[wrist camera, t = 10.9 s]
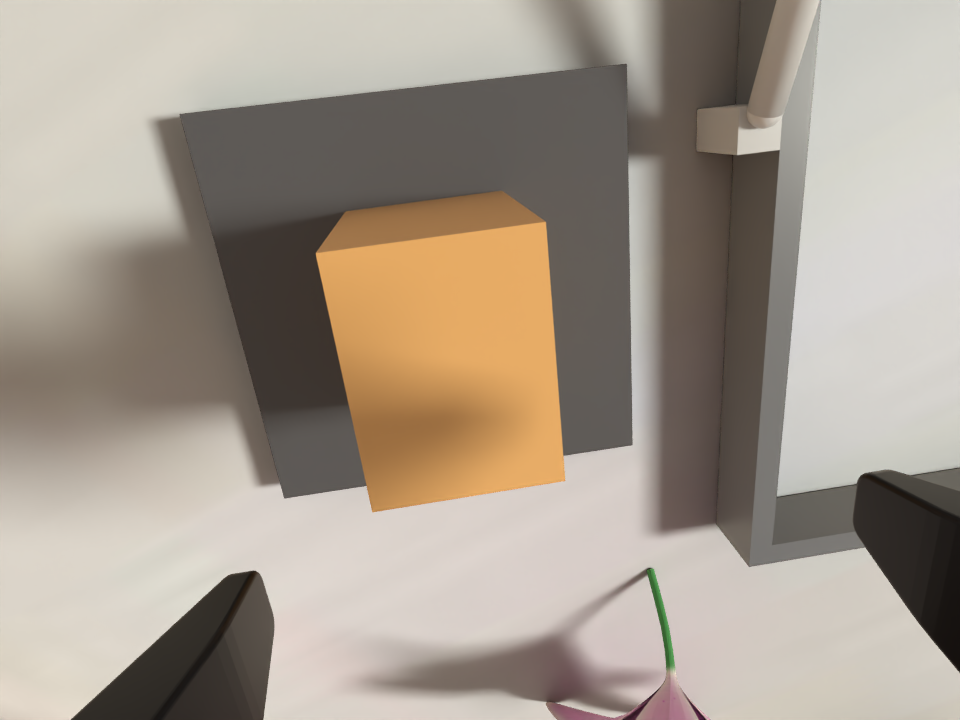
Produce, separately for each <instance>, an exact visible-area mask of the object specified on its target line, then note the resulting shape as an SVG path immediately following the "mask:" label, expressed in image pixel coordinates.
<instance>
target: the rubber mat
mask: <svg viewBox="0 0 960 720" xmlns="http://www.w3.org/2000/svg"><path fill="white" fill-rule="evenodd" d="M180 117H181V121H182V124H183V128H184V132H185V135H186V139H187V143H188V146H189V150H190V154H191V158H192V161H193V165H194V169H195V172H196V176H197V180H198V183H199V187H200V191H201V194H202V198H203V202H204V205H205V209H206V213H207V216H208V220H209V224H210V227H211V231H212V235H213V238H214V242H215V246H216V249H217V253H218V257H219V260H220V264H221V268H222V271H223V275H224V279H225V282H226V286H227V290H228V293H229V297H230V301H231V304H232V308H233V312H234V315H235V319H236V323H237V326H238V330H239V334H240V337H241V341H242V345H243V349H244V352H245V356H246V360H247V363H248V367H249V371H250V374H251V378H252V382H253V385H254V389H255V393H256V396H257V400H258V404H259V407H260V411H261V415H262V418H263V422H264V426H265V429H266V433H267V437H268V440H269V444H270V448H271V451H272V455H273V459H274V462H275V466H276V470H277V473H278V477H279V481H280V484H281V488H282V492H283V495H284V498H290V497H297V496H303V495H310V494H316V493H323V492H330V491H336V490H343V489H349V488H356V487H362V486H367V485H366V481H365V476H364V472H363V467H362V463H361V458H360V453H359V449H358V444H357V440H356V435H355V431H354V426H353V422H352V417H351V412H350V408H349V403H348V399H347V394H346V390H345V385H344V381H343V376H342V371H341V367H340V362H339V358H338V353H337V349H336V344H335V340H334V335H333V330H332V326H331V321H330V317H329V312H328V308H327V303H326V299H325V294H324V289H323V285H322V280H321V276H320V271H319V267H318V262H317V258H316V252H317V251H318V249H319V248H320V246H321V245H322V244H323V242H324V241H325V239H326V238H327V237H328V235H329V234H330V232H331V231H332V230H333V228H334V227H335V226H336V224H337V223H338V221H339V220H340V219H341V217H342V216H343V214H344V213H345V212H346V211H353V210H360V209H368V208H375V207H383V206H390V205H398V204H405V203H413V202H420V201H428V200H435V199H443V198H450V197H458V196H465V195H473V194H481V193H488V192H496V191H503V192H505V193H506V194H507V195H509V196H510V197H512V198H513V199H515V200H516V201H517V202H519V203H520V204H522V205H523V206H524V207H526V208H527V209H529V210H530V211H531V212H533V213H534V214H536V215H537V216H539V217H540V218H541V219H543V220H544V221H546V229H547V243H548V256H549V270H550V283H551V297H552V310H553V324H554V337H555V351H556V364H557V378H558V391H559V405H560V418H561V432H562V445H563V456H564V455H571V454H578V453H584V452H591V451H597V450H604V449H610V448H617V447H623V446H630V445H632V383H631V318H630V253H629V188H628V123H627V64H621V65H612V66H603V67H594V68H585V69H576V70H567V71H558V72H550V73H541V74H532V75H523V76H514V77H505V78H496V79H487V80H479V81H470V82H461V83H452V84H443V85H434V86H425V87H416V88H407V89H399V90H390V91H381V92H372V93H363V94H354V95H345V96H336V97H328V98H319V99H310V100H301V101H292V102H283V103H274V104H265V105H256V106H248V107H239V108H230V109H221V110H212V111H203V112H194V113H185V114H180Z"/></svg>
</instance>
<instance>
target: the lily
mask: <svg viewBox="0 0 960 720" xmlns="http://www.w3.org/2000/svg"><path fill="white" fill-rule="evenodd" d="M647 574H648V578H649V581H650V585H651V589H652V593H653V596H654V600H655V604H656V608H657V612H658V617H659V621H660V625H661V630H662V636H663V642H664V648H665V657H666V670H667V672H666V679H665V681H664V683H663V685H662V686H661V687H660V688H659V689H658V690H657V691H656V692H655V693H654V694H652V695H651V696H650V697H649V698H648V699H646V700H645V701H644V702H642V703H641V704H640V705H638V706H637V707H636V708H634V709H633V710H631V711H630V712H628V713H627V714H625V715H622V716H619V717H616V718H611V717H606V716H602V715H598V714H594V713H589V712H585V711H582V710H578V709H574V708H571V707H567V706H564V705H561V704H557V703H553V702H547V703H546V706H547V708H548V709H549V711H550V712H551V713H552V715H553V716H554V717H555V718H556V719H557V720H710V719H709V718H708V717H707V716H706V715H705V714H704V713H703V712H702V711H701V710H700V709H699V708H698V707H697V706H696V705H695V704H694V703H693V702H692V701H691V700H690V699H689V698H688V697H687V696H686V694H685V693H684V692H683V691H682V689H681V688H680V686H679V684H678V681H677V678H676V672H675V664H674V655H673V648H672V642H671V636H670V630H669V625H668V621H667V617H666V613H665V609H664V605H663V601H662V597H661V593H660V590H659V586H658V583H657V579H656V575H655V572H654V569H648V570H647Z"/></svg>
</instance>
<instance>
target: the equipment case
mask: <svg viewBox="0 0 960 720" xmlns="http://www.w3.org/2000/svg"><path fill="white" fill-rule="evenodd" d="M820 8H821V0H741V2H740V23H739V45H738V66H737V88H736V105H729V106H721V107H712V108H704V109H697V140H696V151H699V152H709V153H720V154H731V155H733V174H732V195H731V217H730V238H729V260H728V281H727V303H726V324H725V346H724V367H723V388H722V410H721V431H720V453H719V474H718V496H717V517H716V524H717V526H718V527H719V528H720V530H721V531H722V532H723V534H724V535H725V536H726V537H727V539H728V540H729V541H730V543H731V544H732V545H733V547H734V548H735V549H736V550H737V552H738V553H739V554H740V556H741V557H742V558H743V560H744V561H745V562H746V563H747V565H748V566H749V567H751V566H757V565H763V564H769V563H775V562H781V561H787V560H793V559H799V558H805V557H811V556H817V555H823V554H829V553H834V552H840V551H846V550H852V549H858V548H864V547H865V546H864V545H863V543H862V542H861V540H860V539H859V537H858V536H857V534H856V532H855V530H854V526H853V520H852V517H853V509H854V502H855V494H856V487H857V485H852V486H846V487H840V488H834V489H827V490H821V491H815V492H809V493H803V494H796V495H790V496H784V497H778V498H776V497H777V486H778V475H779V464H780V453H781V441H782V430H783V419H784V408H785V397H786V386H787V375H788V364H789V353H790V341H791V330H792V319H793V308H794V297H795V286H796V275H797V264H798V252H799V241H800V230H801V219H802V208H803V197H804V186H805V175H806V164H807V152H808V141H809V130H810V119H811V108H812V97H813V86H814V75H815V64H816V52H817V41H818V30H819V19H820ZM913 477H916V478H919V479H923V480H926V481H929V482H933V483H936V484H939V485H942V486H946V487H949V488H952V489H956V490H959V491H960V468H958V469H951V470H945V471H939V472H933V473H927V474H920V475H914V476H913Z"/></svg>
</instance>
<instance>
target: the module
mask: <svg viewBox="0 0 960 720" xmlns="http://www.w3.org/2000/svg"><path fill="white" fill-rule="evenodd" d="M316 258H317V262H318V267H319V271H320V276H321V280H322V285H323V289H324V294H325V299H326V303H327V308H328V312H329V317H330V321H331V326H332V330H333V335H334V340H335V344H336V349H337V353H338V358H339V362H340V367H341V371H342V376H343V381H344V385H345V390H346V394H347V399H348V403H349V408H350V412H351V417H352V422H353V426H354V431H355V435H356V440H357V444H358V449H359V453H360V458H361V463H362V467H363V472H364V476H365V481H366V485H367V490H368V494H369V499H370V504H371V508H372V512H377V511H383V510H389V509H396V508H402V507H408V506H414V505H420V504H426V503H432V502H438V501H445V500H451V499H457V498H463V497H469V496H475V495H481V494H488V493H494V492H500V491H506V490H512V489H518V488H524V487H531V486H537V485H543V484H549V483H555V482H561V481H565V472H564V459H563V445H562V432H561V418H560V405H559V391H558V378H557V364H556V351H555V337H554V324H553V310H552V297H551V283H550V270H549V256H548V243H547V229H546V221H544V220H543V219H541V218H540V217H539V216H537V215H536V214H534V213H533V212H531V211H530V210H529V209H527V208H526V207H524V206H523V205H522V204H520V203H519V202H517V201H516V200H515V199H513V198H512V197H510V196H509V195H507V194H506V193H505V192H503V191H496V192H488V193H481V194H473V195H465V196H458V197H450V198H443V199H435V200H428V201H420V202H413V203H405V204H398V205H390V206H383V207H375V208H368V209H360V210H353V211H346V212H345V213H344V214H343V216H342V217H341V219H340V220H339V221H338V223H337V224H336V226H335V227H334V228H333V230H332V231H331V232H330V234H329V235H328V237H327V238H326V239H325V241H324V242H323V244H322V245H321V246H320V248H319V249H318V251H317V252H316Z"/></svg>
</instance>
